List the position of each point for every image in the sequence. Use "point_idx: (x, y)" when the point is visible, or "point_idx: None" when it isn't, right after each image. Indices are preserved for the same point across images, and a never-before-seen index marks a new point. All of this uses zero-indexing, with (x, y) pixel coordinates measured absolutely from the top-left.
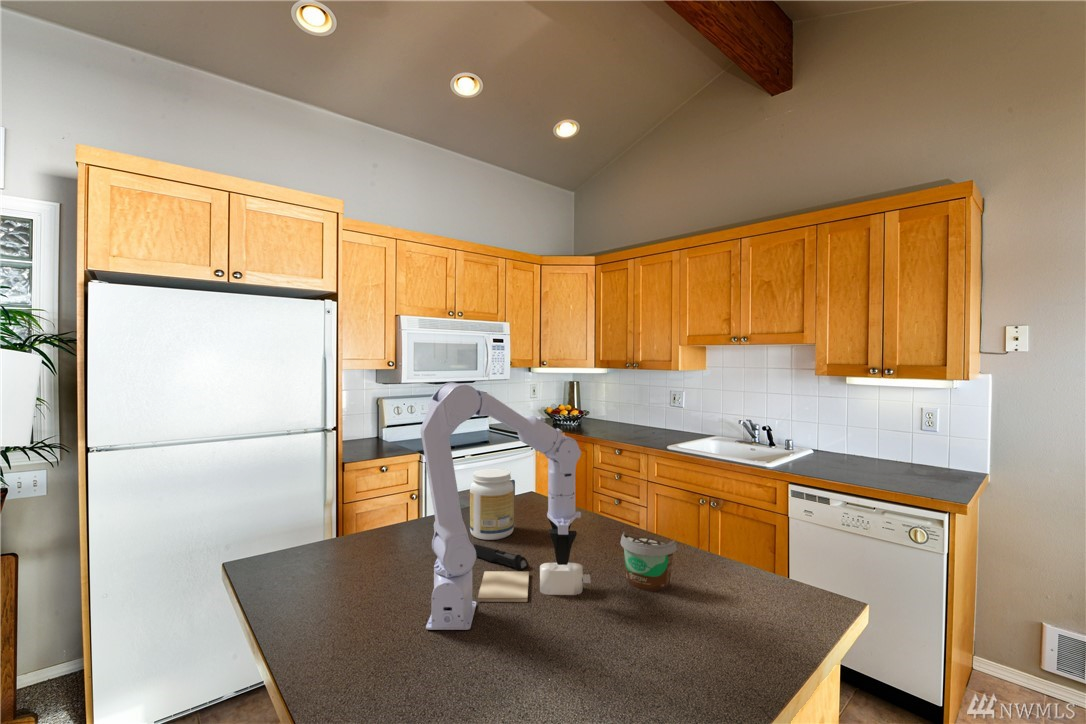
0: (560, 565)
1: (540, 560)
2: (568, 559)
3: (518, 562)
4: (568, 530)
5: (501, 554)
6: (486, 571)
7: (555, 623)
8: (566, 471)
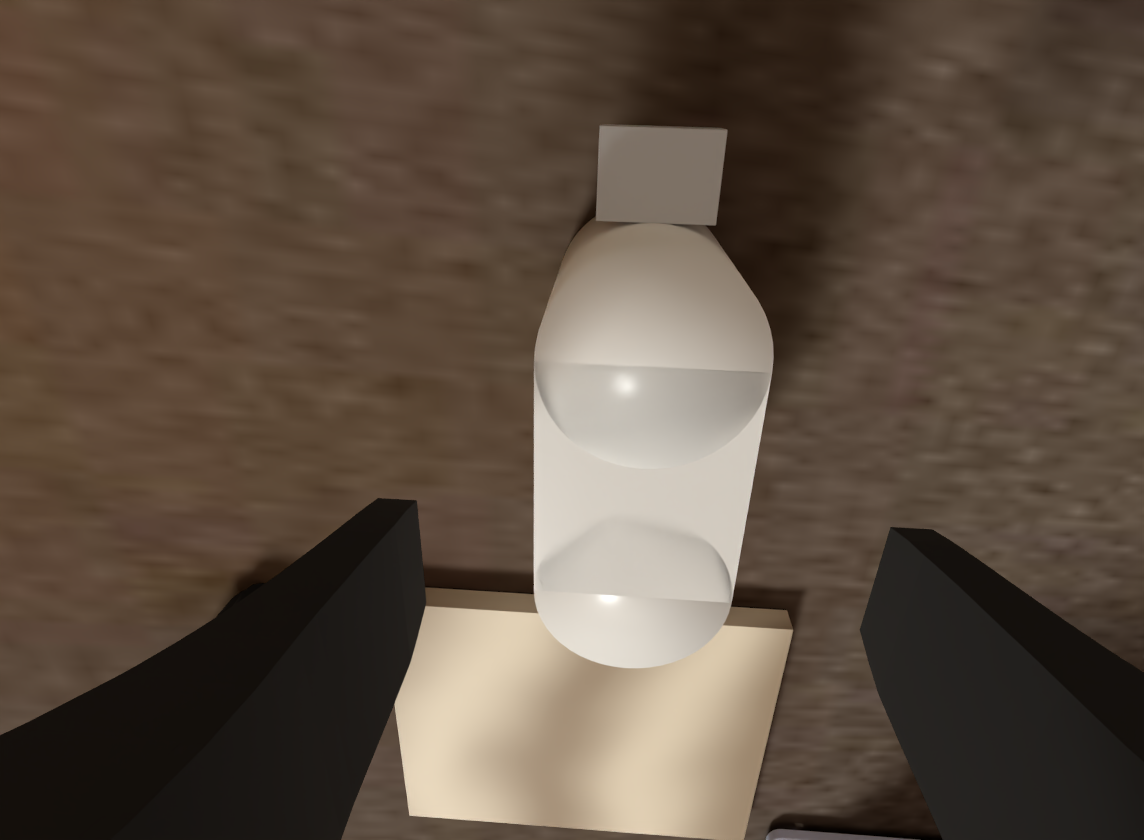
0: (604, 496)
1: (114, 498)
2: (982, 566)
3: None
4: (259, 694)
5: None
6: (409, 807)
7: (1131, 465)
8: None
